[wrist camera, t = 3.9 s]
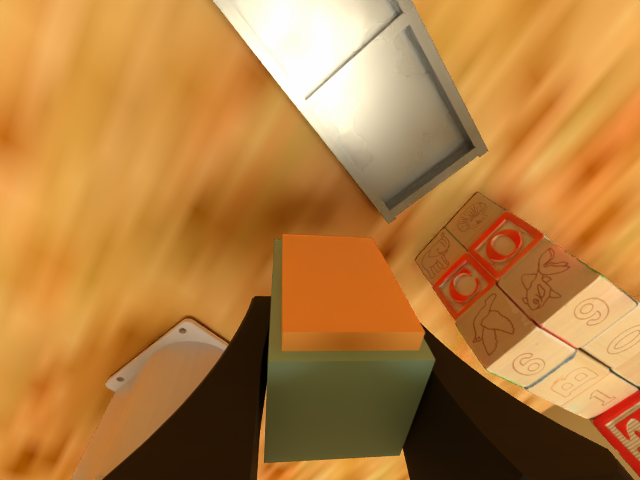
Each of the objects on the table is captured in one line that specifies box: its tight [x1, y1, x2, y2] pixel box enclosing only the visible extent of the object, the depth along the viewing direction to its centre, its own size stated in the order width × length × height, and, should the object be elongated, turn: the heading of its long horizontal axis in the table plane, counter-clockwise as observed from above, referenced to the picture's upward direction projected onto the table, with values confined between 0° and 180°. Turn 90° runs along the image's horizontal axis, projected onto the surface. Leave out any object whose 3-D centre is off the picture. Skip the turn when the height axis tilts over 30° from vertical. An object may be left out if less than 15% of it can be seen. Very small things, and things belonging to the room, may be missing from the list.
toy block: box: [264, 234, 435, 463], centre depth 11 cm, size 4×5×6 cm
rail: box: [213, 0, 488, 224], centre depth 12 cm, size 6×19×7 cm, turn 39°
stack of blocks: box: [415, 192, 640, 477], centre depth 19 cm, size 21×6×12 cm, turn 55°
